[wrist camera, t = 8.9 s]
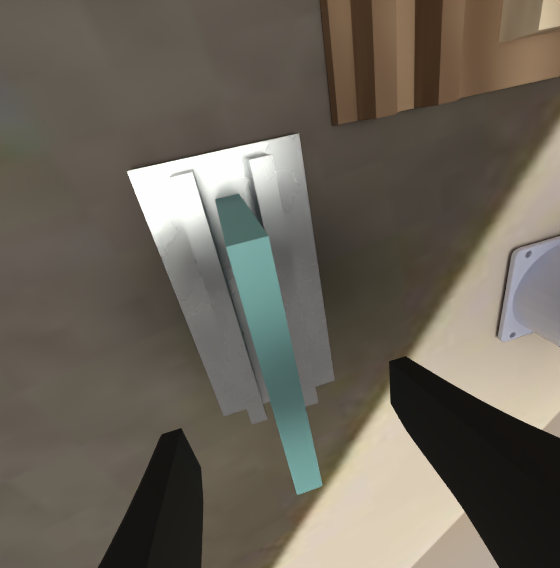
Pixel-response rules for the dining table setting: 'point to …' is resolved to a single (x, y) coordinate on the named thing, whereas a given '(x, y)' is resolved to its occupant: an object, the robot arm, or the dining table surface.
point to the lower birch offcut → (528, 18)
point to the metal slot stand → (217, 268)
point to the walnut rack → (423, 54)
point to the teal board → (270, 334)
